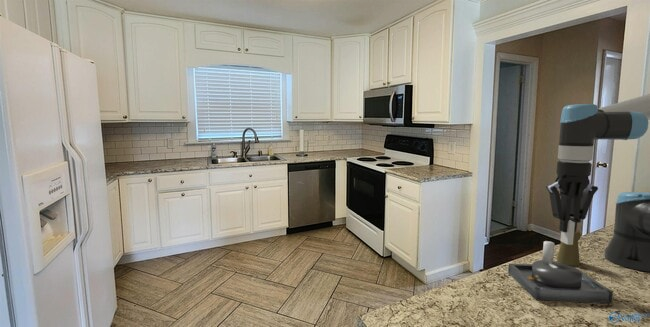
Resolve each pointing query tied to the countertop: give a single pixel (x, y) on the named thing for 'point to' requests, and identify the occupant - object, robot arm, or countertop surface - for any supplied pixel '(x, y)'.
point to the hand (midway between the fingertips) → (566, 242)
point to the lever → (555, 270)
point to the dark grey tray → (540, 291)
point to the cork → (570, 252)
